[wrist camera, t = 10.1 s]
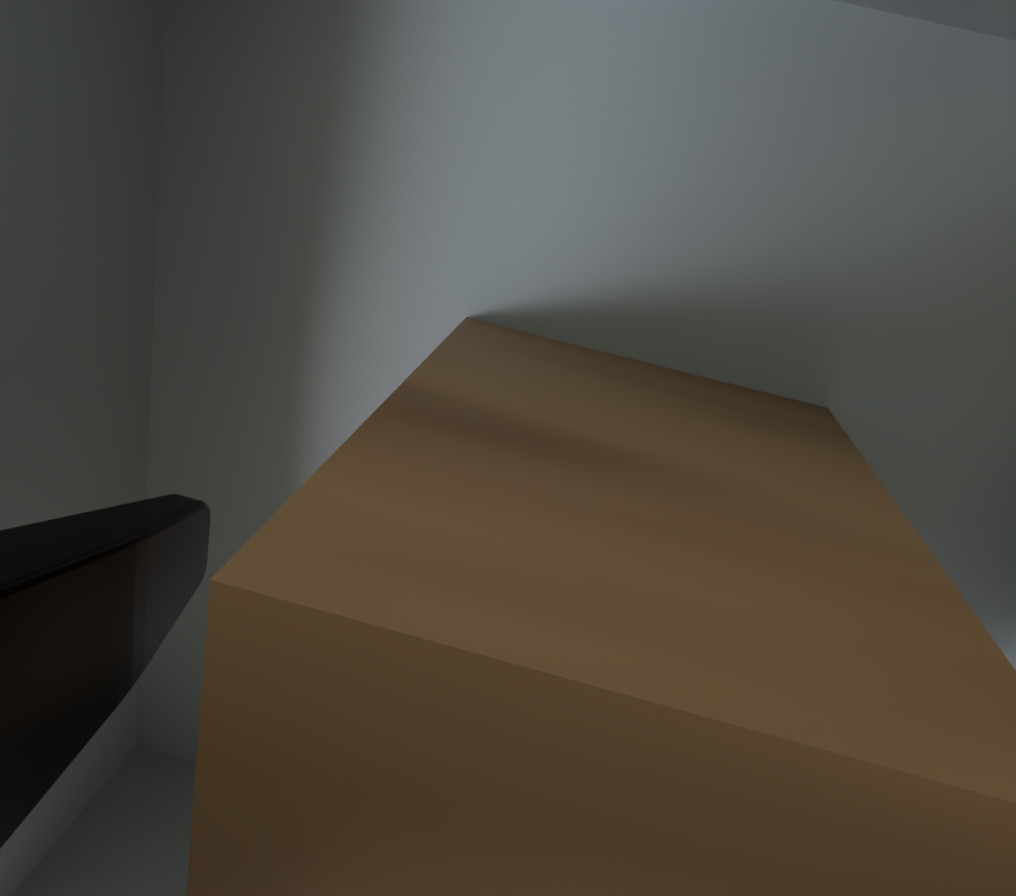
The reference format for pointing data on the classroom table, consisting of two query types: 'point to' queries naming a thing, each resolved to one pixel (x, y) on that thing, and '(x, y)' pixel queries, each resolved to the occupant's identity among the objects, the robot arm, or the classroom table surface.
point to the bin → (476, 270)
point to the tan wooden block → (596, 655)
